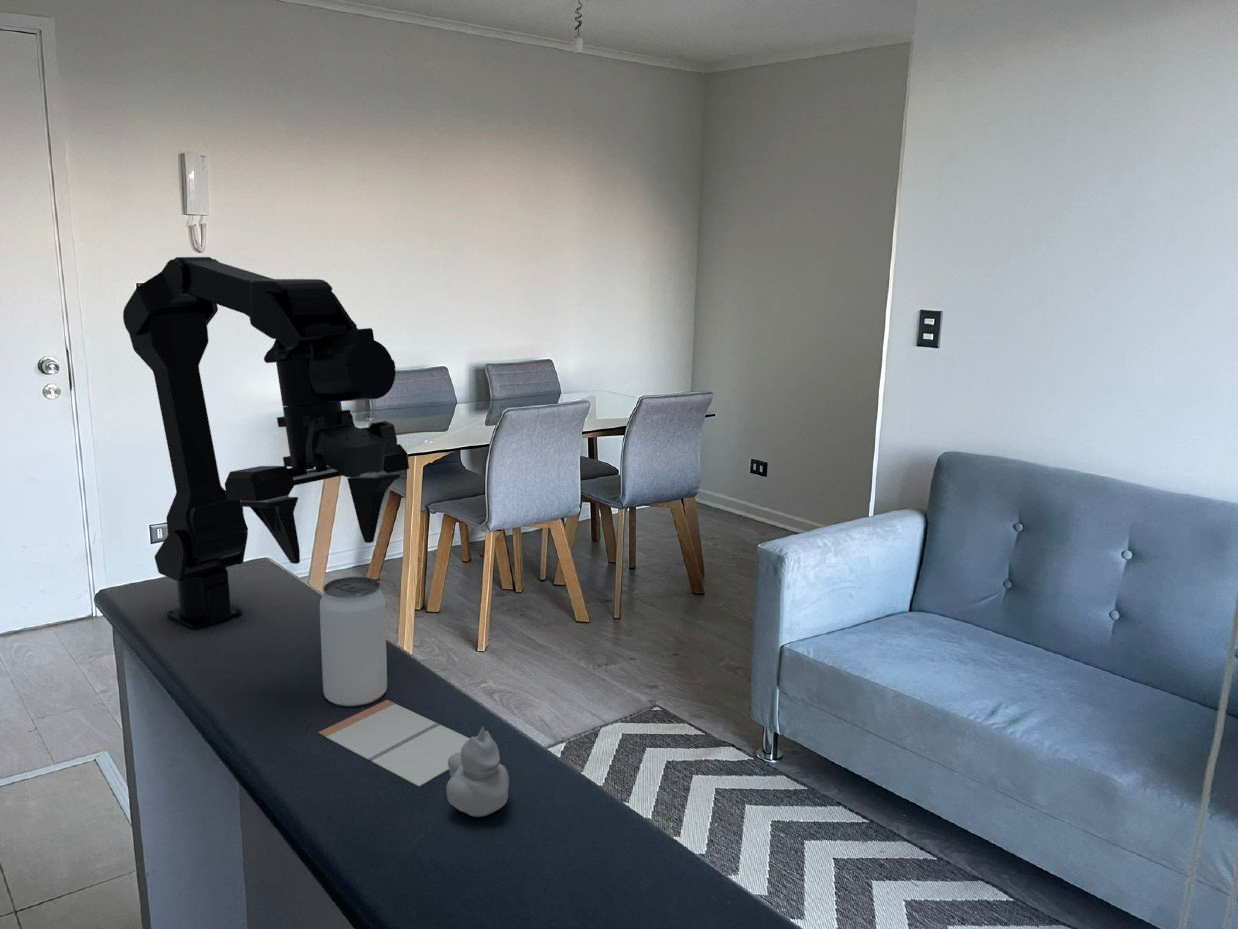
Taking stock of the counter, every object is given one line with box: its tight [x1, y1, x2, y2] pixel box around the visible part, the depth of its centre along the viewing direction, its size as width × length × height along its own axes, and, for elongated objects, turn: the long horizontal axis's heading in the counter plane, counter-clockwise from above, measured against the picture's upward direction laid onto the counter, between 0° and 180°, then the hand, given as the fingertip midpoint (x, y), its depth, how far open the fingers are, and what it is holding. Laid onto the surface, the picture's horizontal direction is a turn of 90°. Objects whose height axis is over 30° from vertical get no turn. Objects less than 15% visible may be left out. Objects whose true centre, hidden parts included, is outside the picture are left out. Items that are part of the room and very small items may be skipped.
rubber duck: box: [445, 726, 510, 818], centre depth 81 cm, size 5×7×8 cm
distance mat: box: [317, 699, 471, 788], centre depth 92 cm, size 14×8×1 cm, turn 54°
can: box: [319, 576, 388, 708], centre depth 99 cm, size 6×6×12 cm
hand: (333, 552), depth 100 cm, fingers open, 9 cm apart
